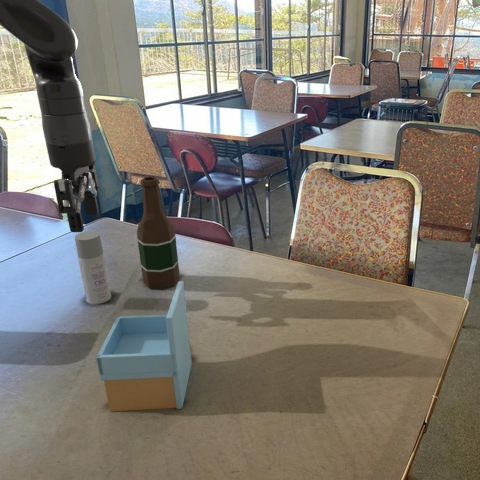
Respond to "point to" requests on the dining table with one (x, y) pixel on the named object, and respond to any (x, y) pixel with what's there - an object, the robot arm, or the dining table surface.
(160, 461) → the dining table surface
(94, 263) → the container
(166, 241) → the beer bottle
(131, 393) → the blue and tan box
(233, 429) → the dining table surface
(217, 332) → the dining table surface
